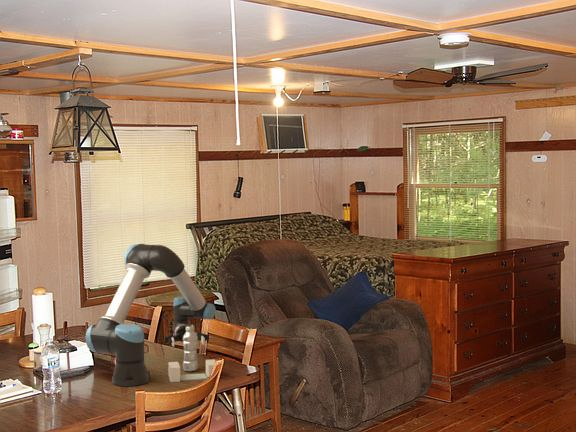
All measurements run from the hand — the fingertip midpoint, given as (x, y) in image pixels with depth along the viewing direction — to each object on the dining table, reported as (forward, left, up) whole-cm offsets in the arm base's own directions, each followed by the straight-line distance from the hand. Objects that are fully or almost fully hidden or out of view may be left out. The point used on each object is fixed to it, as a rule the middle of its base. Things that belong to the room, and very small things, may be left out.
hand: (188, 342), depth 347 cm
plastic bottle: (-5, -6, -11) cm, 14 cm away
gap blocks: (-12, -14, -11) cm, 22 cm away
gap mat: (-12, -14, -11) cm, 22 cm away
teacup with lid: (-42, +48, -11) cm, 65 cm away
